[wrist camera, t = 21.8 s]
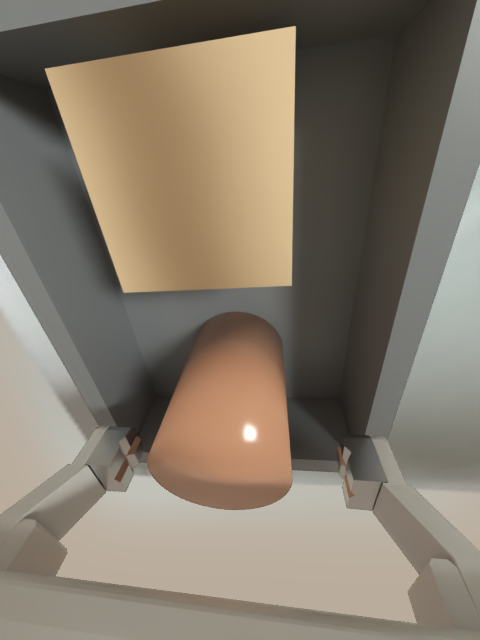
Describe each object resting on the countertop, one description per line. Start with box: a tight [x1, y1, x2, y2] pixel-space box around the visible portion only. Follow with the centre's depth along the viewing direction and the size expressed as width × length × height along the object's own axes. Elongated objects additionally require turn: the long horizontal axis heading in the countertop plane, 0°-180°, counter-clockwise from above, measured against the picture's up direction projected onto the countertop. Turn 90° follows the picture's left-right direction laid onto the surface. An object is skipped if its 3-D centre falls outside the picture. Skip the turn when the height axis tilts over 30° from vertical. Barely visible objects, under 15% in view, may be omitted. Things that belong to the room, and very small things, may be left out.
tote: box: [0, 0, 480, 472], centre depth 11 cm, size 14×18×5 cm
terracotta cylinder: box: [147, 312, 292, 510], centre depth 12 cm, size 5×5×7 cm
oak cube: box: [45, 26, 296, 293], centre depth 8 cm, size 5×5×5 cm
